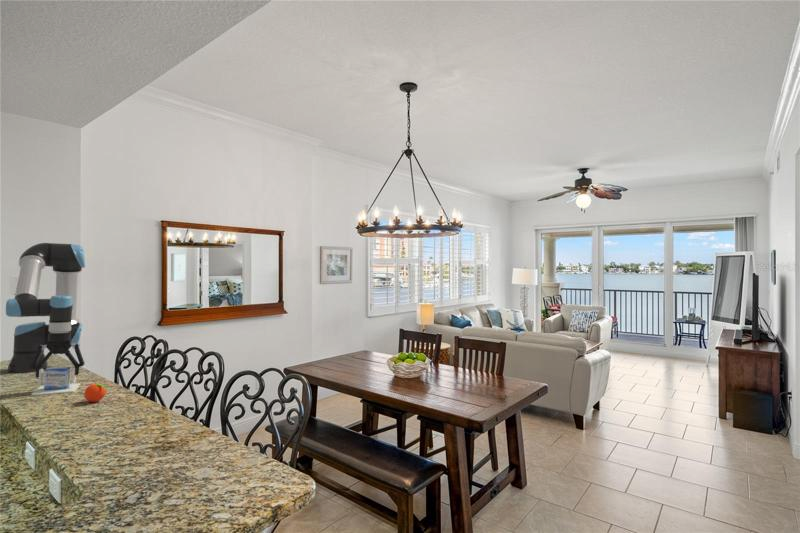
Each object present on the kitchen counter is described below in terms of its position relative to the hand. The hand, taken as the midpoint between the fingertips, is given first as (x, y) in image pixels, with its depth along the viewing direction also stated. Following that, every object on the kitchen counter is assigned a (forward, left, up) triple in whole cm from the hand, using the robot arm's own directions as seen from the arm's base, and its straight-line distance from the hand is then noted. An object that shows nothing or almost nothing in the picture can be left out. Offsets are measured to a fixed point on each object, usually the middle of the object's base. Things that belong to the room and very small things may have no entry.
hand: (57, 384), depth 181 cm
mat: (0, 0, -2) cm, 2 cm away
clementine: (+25, +17, -3) cm, 30 cm away
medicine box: (0, 0, -2) cm, 2 cm away
